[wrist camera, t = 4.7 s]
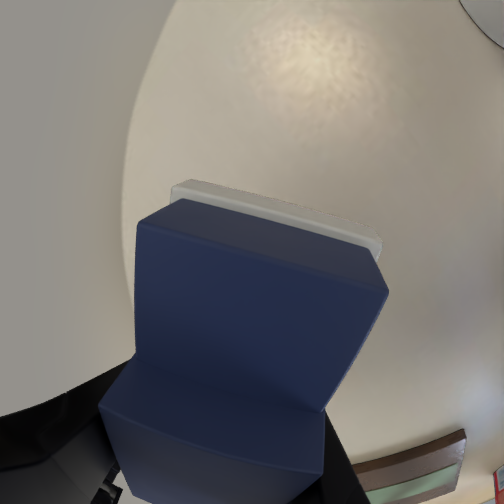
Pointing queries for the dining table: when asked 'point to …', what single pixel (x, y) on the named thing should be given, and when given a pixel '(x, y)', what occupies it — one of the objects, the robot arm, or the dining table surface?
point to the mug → (487, 17)
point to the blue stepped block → (238, 345)
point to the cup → (499, 485)
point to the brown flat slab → (414, 472)
